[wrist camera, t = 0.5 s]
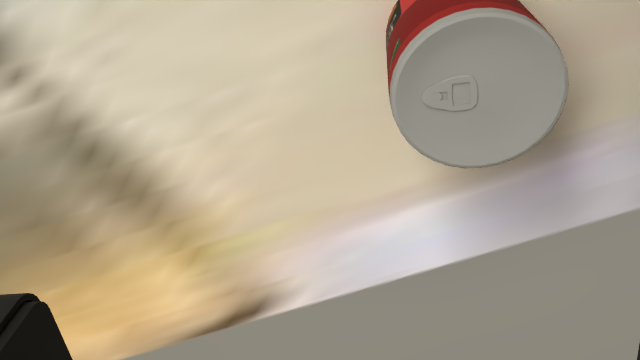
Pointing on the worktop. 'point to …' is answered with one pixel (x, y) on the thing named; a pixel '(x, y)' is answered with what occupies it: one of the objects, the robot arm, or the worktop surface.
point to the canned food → (472, 79)
